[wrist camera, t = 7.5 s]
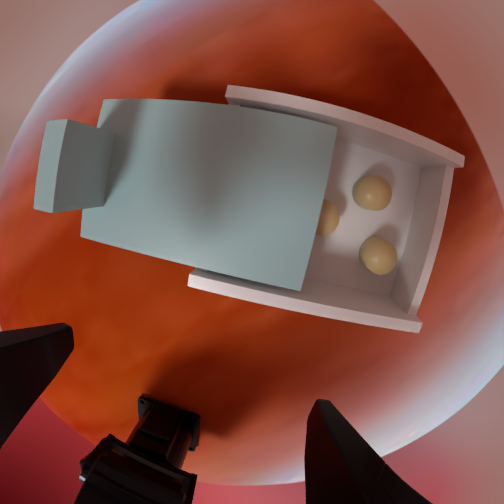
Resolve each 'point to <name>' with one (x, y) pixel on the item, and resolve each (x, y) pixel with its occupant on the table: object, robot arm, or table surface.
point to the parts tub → (360, 220)
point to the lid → (193, 184)
